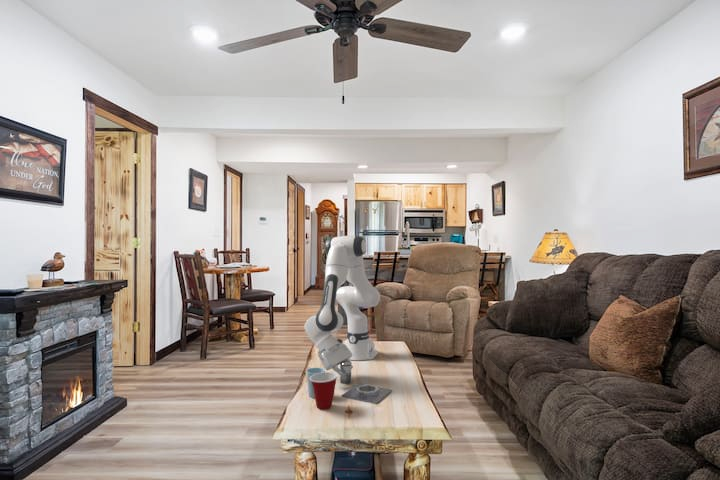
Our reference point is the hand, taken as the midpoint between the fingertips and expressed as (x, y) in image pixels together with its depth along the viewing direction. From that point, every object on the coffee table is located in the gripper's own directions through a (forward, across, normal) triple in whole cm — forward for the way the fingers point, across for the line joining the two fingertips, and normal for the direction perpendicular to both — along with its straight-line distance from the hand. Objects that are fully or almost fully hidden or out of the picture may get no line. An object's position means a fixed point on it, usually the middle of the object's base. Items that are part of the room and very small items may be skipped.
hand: (346, 371), depth 182 cm
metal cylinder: (+3, 0, +4) cm, 5 cm away
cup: (+1, -20, +6) cm, 21 cm away
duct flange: (+14, -8, -7) cm, 17 cm away
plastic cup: (+8, -28, 0) cm, 29 cm away
